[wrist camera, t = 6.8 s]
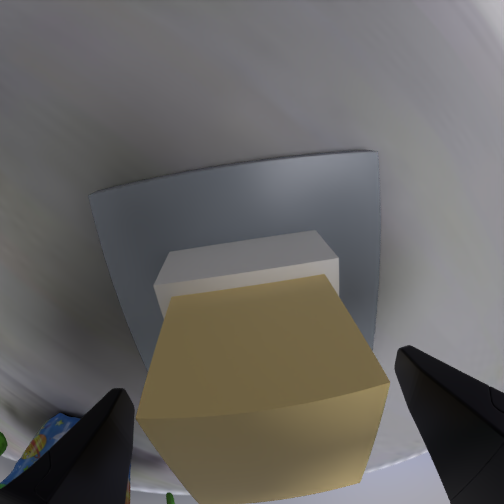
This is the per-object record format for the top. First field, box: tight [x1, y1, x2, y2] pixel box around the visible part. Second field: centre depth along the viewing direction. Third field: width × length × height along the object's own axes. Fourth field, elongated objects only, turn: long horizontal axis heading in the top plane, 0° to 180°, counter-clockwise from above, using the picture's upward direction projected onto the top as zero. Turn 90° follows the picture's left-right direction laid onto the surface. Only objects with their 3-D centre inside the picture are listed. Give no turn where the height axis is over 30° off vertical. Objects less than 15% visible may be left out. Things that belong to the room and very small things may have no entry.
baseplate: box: [88, 150, 381, 372], centre depth 14 cm, size 12×12×1 cm
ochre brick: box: [136, 274, 390, 504], centre depth 8 cm, size 5×5×5 cm
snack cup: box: [0, 413, 175, 504], centre depth 14 cm, size 16×10×10 cm
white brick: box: [153, 230, 339, 318], centre depth 12 cm, size 6×6×3 cm
